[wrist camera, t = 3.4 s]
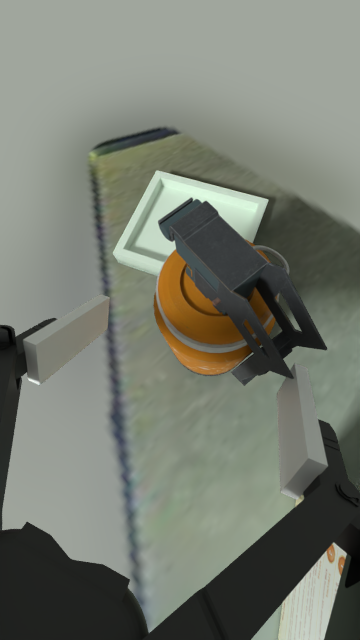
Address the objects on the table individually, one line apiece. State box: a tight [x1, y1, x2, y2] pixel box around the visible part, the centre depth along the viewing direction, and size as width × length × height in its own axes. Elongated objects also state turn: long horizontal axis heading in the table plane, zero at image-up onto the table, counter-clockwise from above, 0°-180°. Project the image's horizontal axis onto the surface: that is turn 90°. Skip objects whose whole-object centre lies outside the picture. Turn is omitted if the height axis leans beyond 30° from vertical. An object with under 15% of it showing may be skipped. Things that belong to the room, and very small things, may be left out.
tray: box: [113, 170, 268, 276], centre depth 33 cm, size 16×14×2 cm
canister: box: [154, 197, 327, 386], centre depth 21 cm, size 9×11×20 cm
